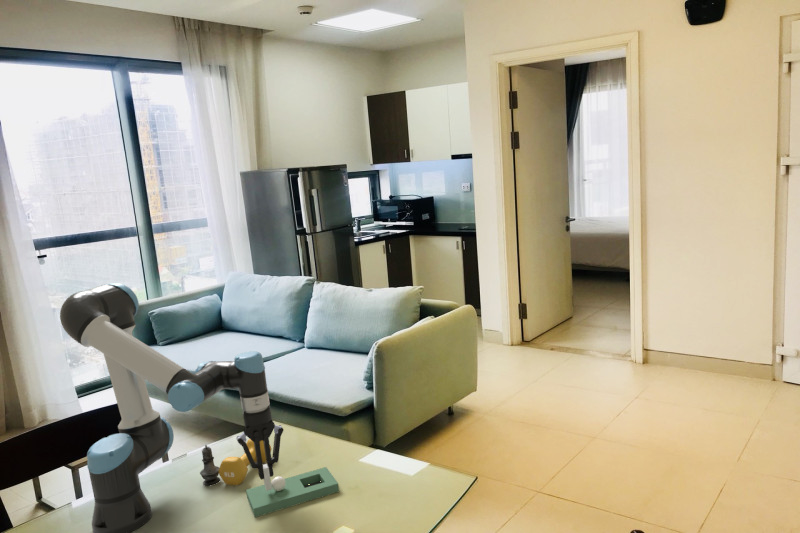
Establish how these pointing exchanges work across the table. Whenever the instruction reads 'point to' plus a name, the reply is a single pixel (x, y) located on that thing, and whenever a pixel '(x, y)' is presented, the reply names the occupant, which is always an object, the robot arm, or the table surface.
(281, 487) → the ball
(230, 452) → the table surface
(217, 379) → the robot arm
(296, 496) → the green
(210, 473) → the dark grey chess piece
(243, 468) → the dumbbell
